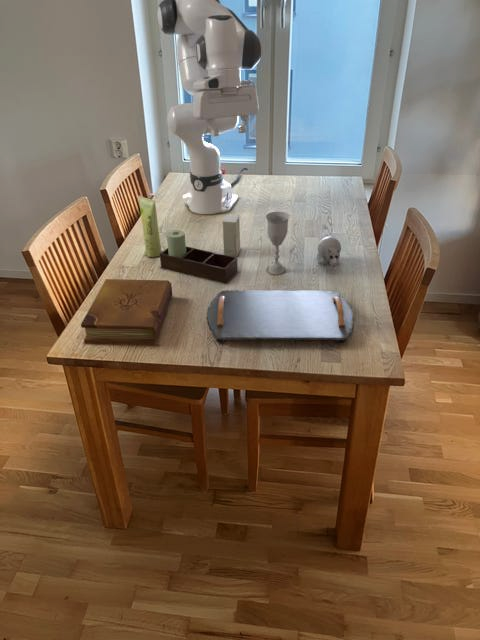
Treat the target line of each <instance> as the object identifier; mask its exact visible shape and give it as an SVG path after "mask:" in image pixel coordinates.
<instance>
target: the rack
mask: <svg viewBox="0 0 480 640" xmlns="http://www.w3.org/2000/svg"><path fill="white" fill-rule="evenodd" d="M159 260H160V268H161V269H164V270H167V271H172V272H176V273H179V274H185V275H187V276H192V277H197V278H200V279H205V280H208V281H211V282H212V281H213V282H217V283H221V284H225V285H226V284H227V283H228V282H229V281H230V280H231V279H232V278H233V277H234V276H235V275H236V274H237V273H238V257H232V256H227V255H224V253H219V252H213V251H210V250H206V249H205V250H204V249H200V248H195V247H191V246H187V245H186V254H185V255H184V256H183V257H182V258H179V257H174V256H170V255H169V253H168V247H166V248H165V249H163V250H162V251H161V253H160V255H159Z"/></svg>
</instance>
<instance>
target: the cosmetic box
mask: <svg viewBox="0 0 480 640" xmlns="http://www.w3.org/2000/svg"><path fill="white" fill-rule="evenodd" d="M222 241H223V255H227V256H232V257H236V258H238V257H237V256H238V255H239V252H240V251H241V229H240V215H239V214H228V213H227V214H226V215H225V216H224V218H223V220H222Z"/></svg>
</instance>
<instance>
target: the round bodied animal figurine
mask: <svg viewBox="0 0 480 640" xmlns="http://www.w3.org/2000/svg"><path fill="white" fill-rule="evenodd" d="M341 251H342V246H341V242H340V241H339V240H338V239H337V238H336V237H334V236H325V237H323V238H322V239H320V241H319V242H318V244H317V255H316V258H317V259H318V260H319V264H320V265H323V266H326V265H328V264H329V265H330V266H331V267H333V268H335V267H337V266H339V264H340V257H341V254H340V253H341Z"/></svg>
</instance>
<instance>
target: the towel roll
mask: <svg viewBox="0 0 480 640" xmlns="http://www.w3.org/2000/svg"><path fill="white" fill-rule="evenodd" d="M166 241H167V248H168V253H169V255H170V256H174V257H179V258H182V257H183V256H184V255H185V254H186V246H187V241H186V232H185V231H184V230H182V229H171V230H169V231H167V232H166Z"/></svg>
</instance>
